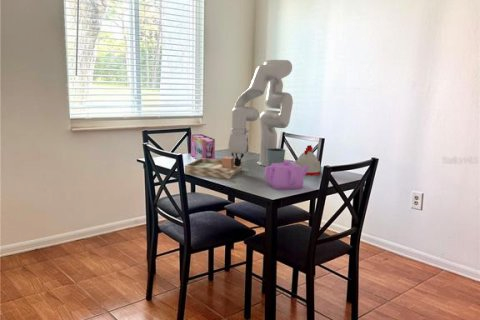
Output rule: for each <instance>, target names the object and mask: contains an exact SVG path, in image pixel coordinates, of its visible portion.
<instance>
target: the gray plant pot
mask: <svg viewBox="0 0 480 320" xmlns="http://www.w3.org/2000/svg"><path fill="white" fill-rule="evenodd" d="M285 155H286V149H285V148H280V147H279V148H278V147H276V148H269V149H267V166H271V164H272V163H284V162H283V161H284V160H285Z"/></svg>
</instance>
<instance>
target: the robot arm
mask: <svg viewBox="0 0 480 320" xmlns="http://www.w3.org/2000/svg"><path fill="white" fill-rule="evenodd" d="M292 71H293V64H292V62H291V61H290V60H288V59H269V60H265V61H264V62H263V64H260V65H258V66H257V67H256V68H255V71H254V74H253V77H252V79H251V81H250V85H249V87H248V88H247V89H246V90H245V91H243V92H242V93H241V95H239V96H238V97H237V99H236V101H235V104H234V107H233V108H232V111H231V132H230V134H229V138H228V139H229V140H228V148H227V149H228V153H227V154H228V155H229V156H231V157H234V161H235V166H237V167H239V166H240V165H241V162H242V159H243V157H247V156H249V136H248V134H247V133H249V131H250V130H248V129H247V122H255V121H257V120H258V119H259V125H260V143H259V146H260V147H259V160H258V161H256V165H258V166H263V167H265V166H267V149H269V148H278V147H277V143H278V133H277V130H276V129H286V128H287V127H288V126H289V124H290V120H291V114H292V109H293V104H294V103H293V102H294V100H293V96H292V94H291V93H289V92H286V91H285V92H283V88H284V82H283V80H282V79H284V78H285V77H288V76H289V75H290V74H291V73H292ZM266 89H267V90H266ZM265 91H266V95H265V106H266V108H269V109H267V110H265V109H264V110H263V111H262V112H261V113H260V112H259V110H258V109H257V108H256V107H251V106H246V105H247V104H248V103H249V102H250V101H253V100H255V99H257V98H259V97H261V96H263V95H264V94H265ZM270 109H275V110H270ZM276 109H277V110H276Z"/></svg>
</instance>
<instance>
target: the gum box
mask: <svg viewBox="0 0 480 320" xmlns="http://www.w3.org/2000/svg"><path fill="white" fill-rule="evenodd" d="M215 143H216V139H215V138H213V137H210V136H207V135H205V134H201V133H200V134H191V135H190V156H191V157H192V158H194V159H196V160H198V159H201V158H204V159H214V160H216V158H215V157H216V156H215V154H216V152H215V148H216V147H215V146H216V144H215Z"/></svg>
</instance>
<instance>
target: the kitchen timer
mask: <svg viewBox="0 0 480 320" xmlns="http://www.w3.org/2000/svg"><path fill="white" fill-rule="evenodd" d="M312 151H313V147H312V145H306V148H305V150H304V152H302V153H301V154H300V155H299V157H298V158H297V159H295V162H294V163H295V164H298V165H300V166H301V167H302V169H303V168H304V167H305V166H307V167H309V169H308V171H307V172H306V174H305V176H309V177H310V176H318V175H319V176H320V174H321V161H320V160H319V159H318V158H317V156H316V155H315V154H314V152H312Z"/></svg>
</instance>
